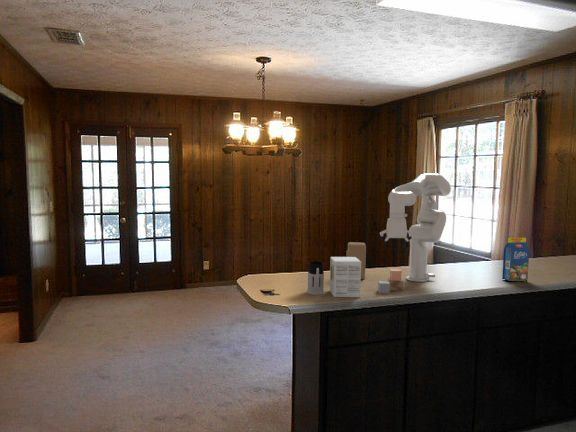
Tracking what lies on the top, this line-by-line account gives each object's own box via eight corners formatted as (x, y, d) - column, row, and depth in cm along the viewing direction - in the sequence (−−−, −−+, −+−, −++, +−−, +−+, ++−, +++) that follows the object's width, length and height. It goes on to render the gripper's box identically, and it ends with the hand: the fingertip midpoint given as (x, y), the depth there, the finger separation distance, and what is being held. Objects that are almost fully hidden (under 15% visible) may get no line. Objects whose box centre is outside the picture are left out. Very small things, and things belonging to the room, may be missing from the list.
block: (363, 276, 264) (364, 242, 263) (365, 279, 254) (366, 244, 253) (346, 275, 265) (347, 241, 264) (347, 279, 255) (348, 244, 254)
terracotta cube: (399, 278, 236) (399, 269, 236) (401, 280, 231) (401, 271, 231) (390, 278, 237) (390, 269, 236) (391, 280, 232) (391, 270, 231)
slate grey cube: (388, 291, 229) (388, 281, 229) (389, 293, 224) (389, 283, 224) (378, 290, 230) (378, 281, 229) (379, 293, 225) (379, 283, 224)
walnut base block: (400, 287, 238) (401, 278, 237) (403, 290, 231) (403, 281, 230) (387, 287, 238) (387, 277, 238) (389, 290, 231) (389, 280, 231)
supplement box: (329, 290, 228) (329, 256, 227) (354, 290, 229) (355, 256, 227) (333, 297, 215) (334, 261, 213) (360, 297, 216) (361, 261, 214)
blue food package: (527, 281, 256) (530, 238, 254) (509, 282, 254) (512, 238, 252) (519, 279, 263) (522, 236, 261) (501, 280, 260) (504, 237, 258)
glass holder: (323, 290, 228) (323, 261, 227) (326, 297, 214) (327, 266, 213) (306, 290, 228) (306, 260, 227) (308, 297, 214) (308, 266, 213)
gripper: (412, 215, 236) (411, 247, 238) (379, 215, 237) (378, 247, 239) (415, 217, 228) (414, 250, 230) (381, 216, 230) (380, 249, 231)
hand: (396, 248), depth 234 cm, fingers open, 9 cm apart
